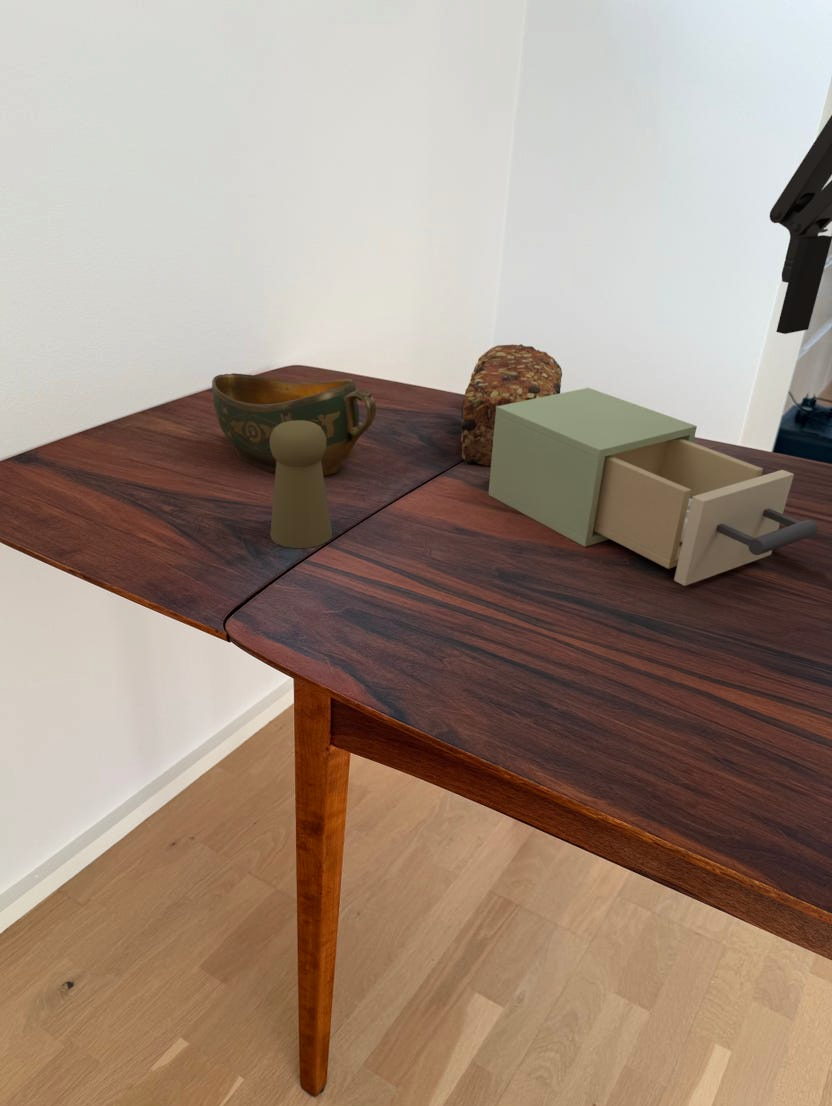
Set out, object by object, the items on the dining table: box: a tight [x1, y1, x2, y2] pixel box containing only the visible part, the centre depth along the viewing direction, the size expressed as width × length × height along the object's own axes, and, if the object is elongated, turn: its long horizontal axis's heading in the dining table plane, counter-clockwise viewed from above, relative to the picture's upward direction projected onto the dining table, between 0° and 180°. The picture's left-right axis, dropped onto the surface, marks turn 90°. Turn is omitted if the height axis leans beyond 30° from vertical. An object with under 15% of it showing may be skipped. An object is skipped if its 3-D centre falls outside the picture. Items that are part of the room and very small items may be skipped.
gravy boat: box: [211, 373, 377, 477], centre depth 99 cm, size 13×20×10 cm, turn 28°
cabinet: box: [487, 387, 698, 548], centre depth 89 cm, size 15×13×10 cm
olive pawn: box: [269, 420, 333, 549], centre depth 83 cm, size 6×6×11 cm
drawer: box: [593, 438, 819, 587], centre depth 78 cm, size 18×11×8 cm, turn 31°
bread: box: [460, 343, 563, 467], centre depth 105 cm, size 19×11×10 cm, turn 166°
